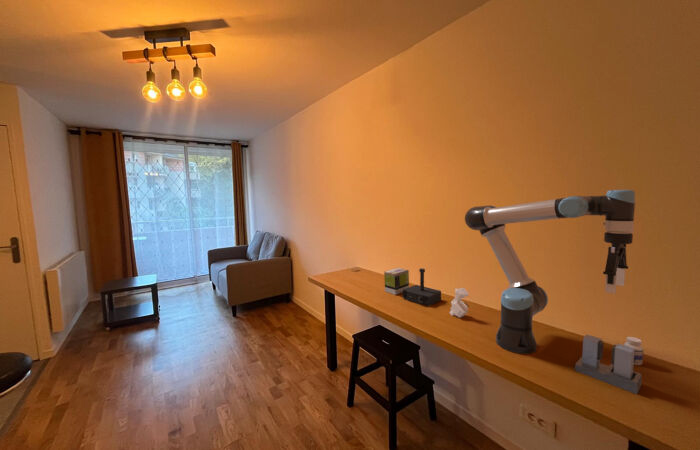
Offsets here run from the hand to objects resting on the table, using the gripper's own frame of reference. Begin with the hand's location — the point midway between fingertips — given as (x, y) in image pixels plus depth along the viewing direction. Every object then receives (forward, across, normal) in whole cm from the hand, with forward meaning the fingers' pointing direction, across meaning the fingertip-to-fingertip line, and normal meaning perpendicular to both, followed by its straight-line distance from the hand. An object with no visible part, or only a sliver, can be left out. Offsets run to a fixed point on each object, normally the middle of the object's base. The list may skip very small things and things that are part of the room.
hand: (614, 288), depth 104 cm
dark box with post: (+29, +2, -89) cm, 94 cm away
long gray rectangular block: (+26, +13, +6) cm, 30 cm away
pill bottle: (+29, -7, +5) cm, 30 cm away
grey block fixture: (+29, +13, +2) cm, 32 cm away
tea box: (+29, +1, -111) cm, 115 cm away
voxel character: (+29, +6, -60) cm, 67 cm away
